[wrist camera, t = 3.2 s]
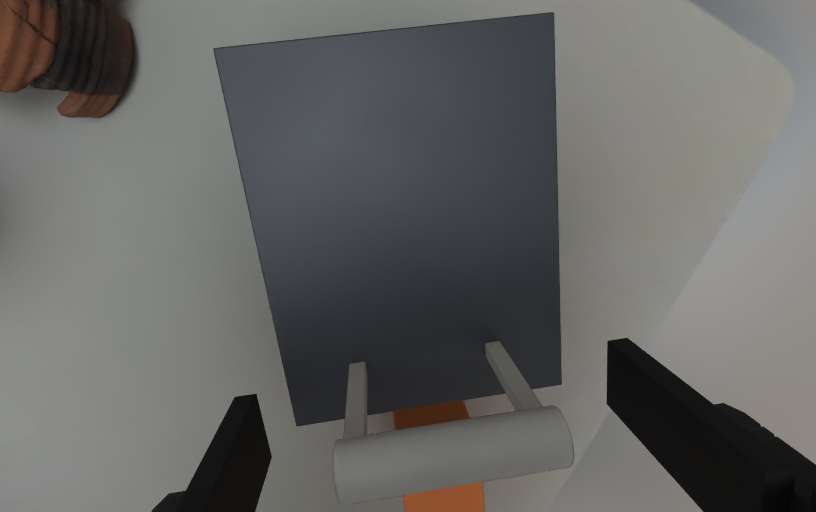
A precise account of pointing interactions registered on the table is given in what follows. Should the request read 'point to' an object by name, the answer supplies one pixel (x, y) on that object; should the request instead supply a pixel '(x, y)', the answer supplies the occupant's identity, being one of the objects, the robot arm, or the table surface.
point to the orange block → (451, 506)
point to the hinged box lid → (410, 240)
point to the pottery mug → (66, 52)
